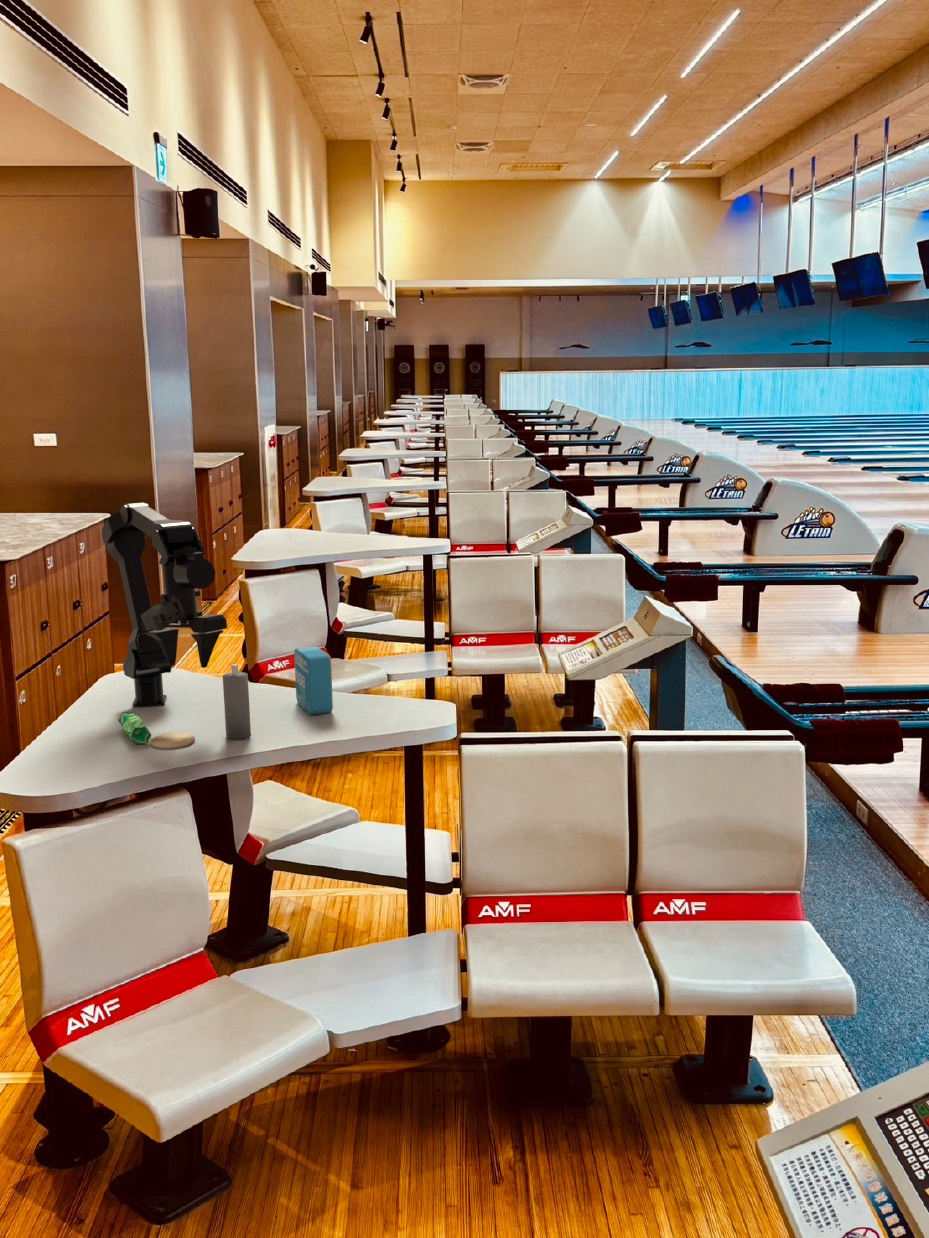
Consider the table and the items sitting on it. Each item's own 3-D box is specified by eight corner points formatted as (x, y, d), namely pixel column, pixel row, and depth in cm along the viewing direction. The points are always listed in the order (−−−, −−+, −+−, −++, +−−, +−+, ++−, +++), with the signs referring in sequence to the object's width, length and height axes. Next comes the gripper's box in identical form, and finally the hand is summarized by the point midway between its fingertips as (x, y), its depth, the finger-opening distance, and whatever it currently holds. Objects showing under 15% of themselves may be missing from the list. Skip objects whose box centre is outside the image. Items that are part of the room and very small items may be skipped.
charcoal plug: (221, 736, 214) (217, 664, 212) (242, 731, 217) (238, 660, 215) (234, 741, 211) (230, 668, 208) (255, 736, 214) (251, 664, 211)
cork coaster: (152, 737, 214) (152, 734, 214) (196, 734, 216) (196, 731, 216) (148, 750, 207) (148, 747, 207) (193, 747, 208) (193, 744, 208)
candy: (115, 725, 219) (125, 706, 220) (131, 732, 221) (141, 713, 221) (127, 742, 209) (138, 722, 209) (144, 749, 210) (154, 729, 211)
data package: (296, 702, 238) (293, 646, 235) (317, 699, 239) (314, 644, 237) (311, 716, 227) (309, 658, 224) (333, 714, 229) (331, 656, 226)
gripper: (114, 592, 218) (123, 672, 220) (180, 592, 207) (188, 676, 209) (160, 585, 227) (168, 662, 229) (225, 585, 216) (233, 665, 218)
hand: (188, 666), depth 221 cm, fingers open, 9 cm apart
